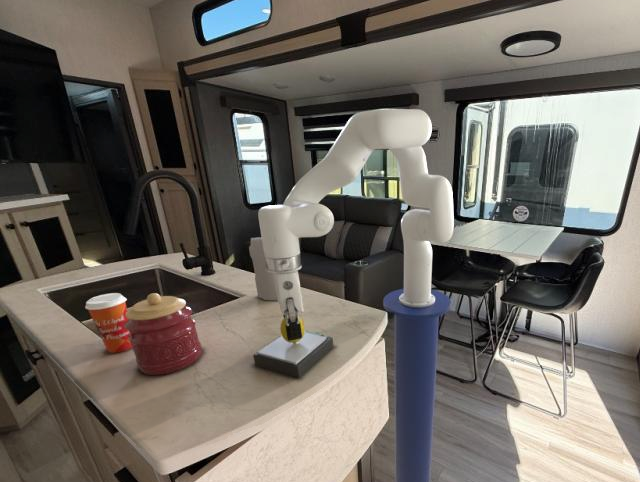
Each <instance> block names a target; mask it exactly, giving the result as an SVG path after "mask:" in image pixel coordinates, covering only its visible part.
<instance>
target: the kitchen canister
mask: <svg viewBox="0 0 640 482" xmlns="http://www.w3.org/2000/svg"><path fill="white" fill-rule="evenodd" d="M186 304H187V302H186V300H185V299H183V298H179V297H176V296H173V295H160V294H158V293H157V292H153V293H150V294H148V295H147V297H146V299H144V300H140V301H138V302H137V303H135V304H134V305H132V306H131V307H130V308H129V309H127V312H126V314H125V316H126V317H127V318H128V319H127V320H126V321H125V323H124V328H125V329H126V330H128V331H129V333H130V335H129V337H128V340H129V342H131V345H132V351H133V353H134V356H135V357H134V358H135V363H136V366H137V367H138V369H139V370H140V372H142V373H143V374H145V375H149V376H150V375H151V376H157V375H166V374H170V373H174V372H177V371H180V370H182V369H184V368H186V367H189V366H190V365H191V364H193V363H195V362H196V361H197V360H198V359H199V358H200V357H201V355H202V344H201V341H200V339H199V335H198V331H197V327H196V321H195V320H194V318H192V314H193V308H191V307H190V306H188V305H186Z"/></svg>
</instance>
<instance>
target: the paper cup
mask: <svg viewBox="0 0 640 482" xmlns="http://www.w3.org/2000/svg"><path fill="white" fill-rule="evenodd" d="M127 300H128V299H127V298H126V297H125V296H124V295H122V293H120V292H119V293H118V292H111V293H104V294H99V295H97V296H93V297H91V298H90V299H88V300H87V301H86V302H85V309H86V310H88V313H89V315H90V317H91V319H92V321H93V323H94V325H95V328H96V330H97V332H98V333H99V336H100V338H101V340H102V342H103V344H104V346H105V348H106V350H107V352H109V353H112V354H115V353H121V352H125V351H127V350H130V349H131V348H132V345H131V342H129V340H128V337H129V335H130V333H129V331H128V330H126V329H125V328H124V323H125V321H126V320H127V319H128V318H127V317H126V316H125V314H126V312H127V311H128V307H127V303H126V301H127ZM132 349H133V348H132Z"/></svg>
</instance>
